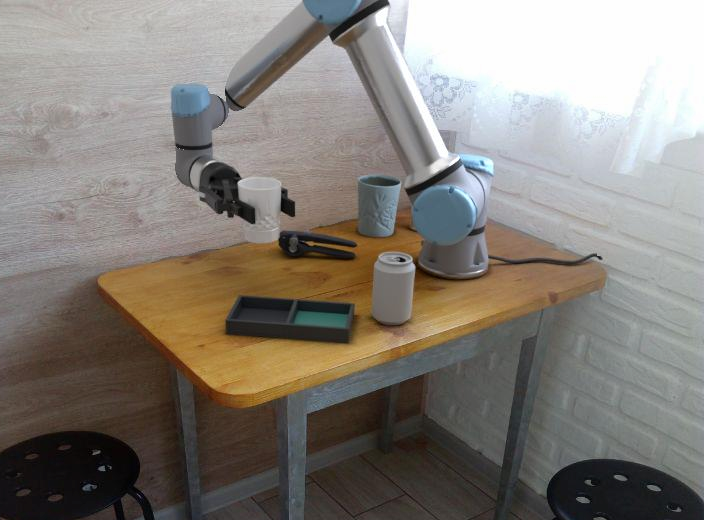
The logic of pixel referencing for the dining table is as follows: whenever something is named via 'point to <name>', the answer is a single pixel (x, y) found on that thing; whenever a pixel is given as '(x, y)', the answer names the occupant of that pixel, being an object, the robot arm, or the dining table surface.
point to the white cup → (261, 208)
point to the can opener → (297, 245)
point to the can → (393, 288)
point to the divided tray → (291, 318)
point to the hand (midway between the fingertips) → (273, 212)
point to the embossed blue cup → (377, 204)
